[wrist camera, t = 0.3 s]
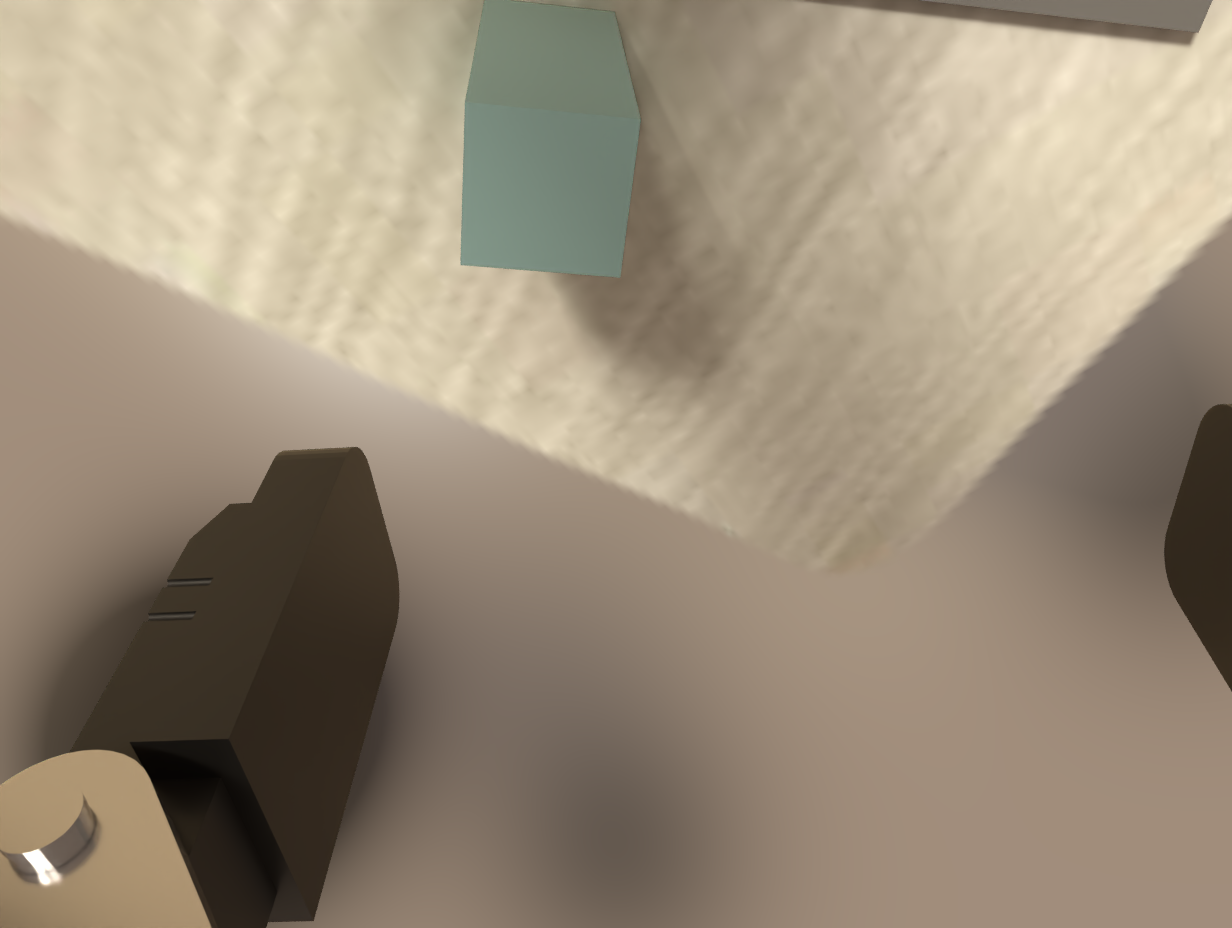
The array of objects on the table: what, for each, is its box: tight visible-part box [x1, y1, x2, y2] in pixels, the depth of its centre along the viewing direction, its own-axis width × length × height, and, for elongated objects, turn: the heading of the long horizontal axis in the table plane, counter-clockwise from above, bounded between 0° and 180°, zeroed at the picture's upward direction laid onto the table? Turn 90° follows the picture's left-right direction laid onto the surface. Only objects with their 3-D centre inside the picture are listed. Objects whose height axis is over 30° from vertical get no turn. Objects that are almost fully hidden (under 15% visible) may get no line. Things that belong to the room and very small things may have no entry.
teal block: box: [461, 0, 641, 278], centre depth 25 cm, size 4×4×9 cm
